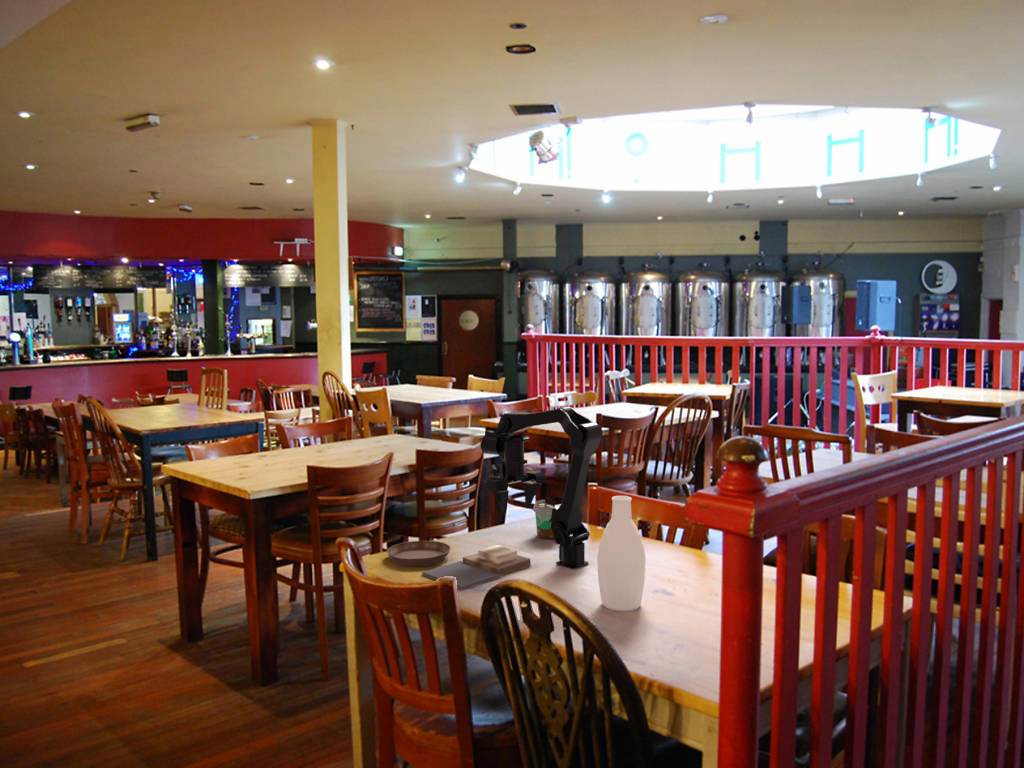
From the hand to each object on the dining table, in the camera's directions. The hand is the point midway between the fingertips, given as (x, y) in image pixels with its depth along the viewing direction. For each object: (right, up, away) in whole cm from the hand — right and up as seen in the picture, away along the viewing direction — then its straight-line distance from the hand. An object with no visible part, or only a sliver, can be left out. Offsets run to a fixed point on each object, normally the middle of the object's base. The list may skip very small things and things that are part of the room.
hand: (516, 510), depth 226 cm
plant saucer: (-27, -13, -5) cm, 30 cm away
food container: (+9, -11, +15) cm, 21 cm away
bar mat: (-14, -14, -20) cm, 28 cm away
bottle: (+24, -16, -41) cm, 50 cm away
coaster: (-5, -11, -11) cm, 17 cm away
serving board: (-5, -13, -12) cm, 18 cm away
